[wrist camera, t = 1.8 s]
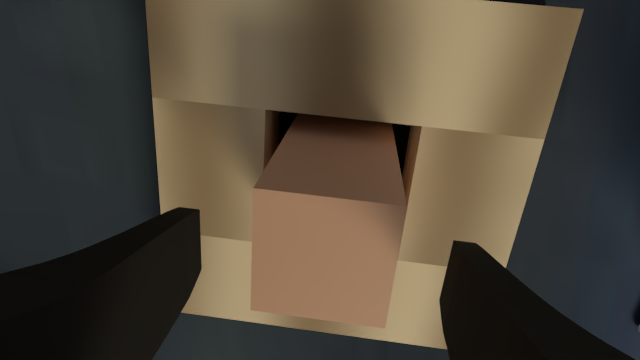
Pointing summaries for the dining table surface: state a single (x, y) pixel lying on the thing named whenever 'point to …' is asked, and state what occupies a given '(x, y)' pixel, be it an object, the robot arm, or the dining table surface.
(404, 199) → the terracotta block
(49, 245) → the dining table surface
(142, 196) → the dining table surface
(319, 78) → the pocket block
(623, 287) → the dining table surface
